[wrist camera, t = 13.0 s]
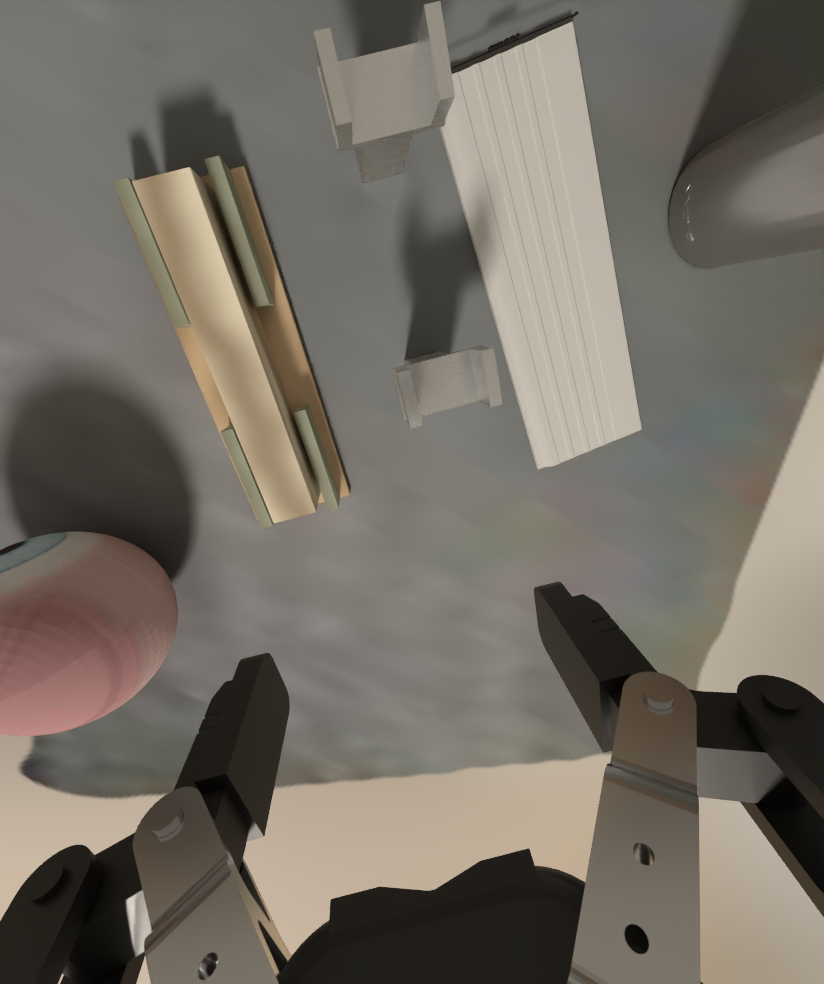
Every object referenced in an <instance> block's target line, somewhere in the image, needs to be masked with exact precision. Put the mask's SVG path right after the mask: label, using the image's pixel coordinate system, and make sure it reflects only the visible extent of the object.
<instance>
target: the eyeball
mask: <svg viewBox="0 0 824 984" xmlns="http://www.w3.org/2000/svg"><path fill="white" fill-rule="evenodd" d="M177 618H178V607H177V600H176V595H175V591H174V588H173V586H172V583H171V581H170V579H169V577H168V575H167V574H166V572H165V571H164V569H163V568H162V567H161V566H160V564H159V563H158V562H157V561H156V560H155V559H154V558H153V557H152V556H150V555H149V554H148V553H147V552H145V551H144V550H142V549H141V548H139V547H137V546H136V545H134V544H132V543H130V542H127V541H125V540H122V539H120V538H117V537H114V536H110V535H106V534H100V533H92V532H59V533H53V534H47V535H42V536H37V537H33V538H30V539H26V540H24V541H21V542H18V543H15V544H13V545H10V546H8V547H6V548H4V549H2V550H0V734H5V735H15V736H35V735H46V734H52V733H57V732H62V731H66V730H70V729H73V728H76V727H79V726H82V725H85V724H87V723H90V722H92V721H94V720H96V719H98V718H100V717H103V716H104V715H106V714H108V713H110V712H111V711H113V710H115V709H116V708H118V707H119V706H121V705H122V704H124V703H125V702H126V701H128V700H129V699H130V698H132V697H133V696H134V695H135V694H136V693H137V692H138V691H139V690H141V689H142V688H143V687H144V686H145V685H146V683H147V682H148V681H149V680H150V679H151V678H152V677H153V676H154V674H155V673H156V671H157V670H158V669H159V667H160V666H161V664H162V663H163V661H164V659H165V657H166V656H167V654H168V652H169V650H170V647H171V644H172V642H173V639H174V635H175V631H176V627H177Z"/></svg>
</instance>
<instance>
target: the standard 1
mask: <svg viewBox="0 0 824 984" xmlns="http://www.w3.org/2000/svg"><path fill="white" fill-rule="evenodd" d="M313 32H314V39H315V46H316V52H317V59H318V67H317V72H318V76H319V80H320V84H321V88H322V92H323V96H324V100H325V104H326V108H327V112H328V116H329V120H330V124H331V128H332V132H333V136H334V141H335V145H336V149H337V153H339V152H343V151H347V150H351V149H355V151H356V155H357V160H358V164H359V168H360V172H361V177H362V181H363V183H365V182H369V181H373V180H377V179H381V178H385V177H389V176H393V175H397V174H401V173H402V171H403V167H404V164H405V160H406V156H407V153H408V149H409V146H410V142H411V138H412V135H413V134H415V133H419V132H423V131H428V130H432V129H436V128H440V127H444V125H445V123H446V117H447V114H448V112H449V110H450V107H451V105H452V102H453V100H454V98H455V93H454V86H453V80H452V73H451V67H450V60H449V54H448V47H447V41H446V34H445V28H444V21H443V15H442V8H441V2H440V1H437V2H433V3H429V4H425V5H424V8H423V12H422V17H421V22H420V27H419V32H418V37H417V42H416V43H413V44H409V45H405V46H401V47H397V48H393V49H389V50H384V51H380V52H376V53H372V54H368V55H364V56H360V57H356V58H351V59H347V60H343V61H339V62H338V60H337V56H336V52H335V47H334V43H333V39H332V34H331V30H330V27H329V28H325V29H321V30H317V31H313Z"/></svg>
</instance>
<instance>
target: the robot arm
mask: <svg viewBox="0 0 824 984" xmlns="http://www.w3.org/2000/svg"><path fill="white" fill-rule="evenodd" d="M669 230H670V235H671V238H672V241H673V244H674V246H675V248H676V250H677V251H678V253H679V254H680V255H681V256H682V257H683V258H684V259H685V260H686V261H687V262H689V263H691V264H693V265H694V266H698V267H702V268H714V267H720V266H725V265H731V264H737V263H742V262H748V261H755V260H760V259H766V258H771V257H777V256H783V255H788V254H794V253H799V252H805V251H811V250H816V249H822V248H824V83H823V84H821V85H819V86H818V87H816V88H814V89H812V90H810V91H808V92H806V93H804V94H803V95H801V96H799V97H797V98H795V99H793V100H791V101H789V102H787V103H786V104H784V105H782V106H780V107H778V108H776V109H774V110H772V111H771V112H769V113H767V114H765V115H763V116H761V117H759V118H757V119H755V120H753V121H751V122H750V123H748V124H746V125H744V126H742V127H740V128H738V129H737V130H735V131H733V132H731V133H729V134H727V135H725V136H723V137H722V138H720V139H718V140H716V141H714V142H712V143H710V144H709V145H707V146H706V147H704V148H703V149H702V150H701V151H699V152H698V153H697V154H696V155H695V156H694V157H693V158H692V160H691V161H690V162H689V163H688V164H687V166H686V167H685V169H684V170H683V172H682V174H681V175H680V177H679V179H678V181H677V184H676V186H675V188H674V191H673V194H672V198H671V202H670V208H669ZM534 596H535V604H536V612H537V620H538V628H539V633H540V636H541V639H542V642H543V645H544V647H545V649H546V651H547V653H548V654H549V656H550V658H551V660H552V662H553V663H554V665H555V667H556V669H557V671H558V672H559V674H560V676H561V678H562V679H563V681H564V683H565V685H566V687H567V688H568V690H569V692H570V694H571V696H572V697H573V699H574V701H575V703H576V705H577V706H578V708H579V710H580V712H581V713H582V715H583V717H584V719H585V721H586V722H587V724H588V726H589V728H590V730H591V731H592V733H593V735H594V737H595V738H596V740H597V742H598V744H599V746H600V747H601V749H602V751H603V753H604V752H608V751H612V757H611V761H610V764H607V766H606V769H605V773H604V778H603V784H602V790H601V795H600V801H599V807H598V813H597V819H596V824H595V830H594V836H593V842H592V848H591V854H590V859H589V866H588V872H587V877H586V883H585V882H584V881H582V880H579V879H578V878H576V877H574V876H572V875H570V874H568V873H565V872H562V871H560V870H556V869H552V868H548V867H541V866H534V863H533V859H532V856H531V853H530V850H529V849H526V850H521V851H517V852H514V853H510V854H506V855H502V856H498V857H494V858H490V859H486V860H482V861H480V862H478V863H477V864H475V865H473V866H472V867H471V868H469V869H467V870H465V871H464V872H462V873H461V874H459V875H458V876H456V877H454V878H453V879H451V880H450V881H448V882H447V883H445V884H443V885H442V886H440V887H438V888H437V889H435V890H431V891H423V890H411V889H399V888H388V887H377V888H373V889H369V890H365V891H361V892H358V893H354V894H350V895H346V896H342V897H339V898H334V899H331V904H330V920H329V921H328V922H326V923H325V924H323V925H322V926H321V927H319V928H318V929H317V930H316V931H315V932H313V933H312V934H311V935H310V936H309V937H308V938H307V939H306V940H305V941H304V943H302V944H301V945H300V947H299V948H298V949H297V950H296V952H295V953H294V954H293V955H292V956H291V954H290V952H289V950H288V948H287V947H286V945H285V943H284V941H283V940H282V938H281V936H280V934H279V932H278V930H277V928H276V926H275V924H274V922H273V920H272V918H271V915H270V913H269V911H268V909H267V907H266V905H265V903H264V901H263V899H262V897H261V894H260V892H259V890H258V888H257V886H256V884H255V882H254V879H253V877H252V875H251V873H250V871H249V869H248V867H247V865H246V863H245V861H244V860H243V854H244V851H245V846H246V842H247V841H250V840H254V839H257V838H261V837H264V835H265V829H266V825H267V820H268V815H269V810H270V805H271V799H272V795H273V790H274V785H275V780H276V775H277V770H278V765H279V760H280V755H281V750H282V745H283V740H284V735H285V730H286V725H287V720H288V715H289V696H288V692H287V689H286V686H285V684H284V682H283V680H282V678H281V676H280V673H279V671H278V669H277V667H276V665H275V662H274V660H273V658H272V656H271V655H270V654H269V653H264V654H260V655H256V656H252V657H248V658H244V659H242V660H241V661H240V662H239V664H238V667H237V669H236V672H235V675H234V677H233V680H231V681H227V682H225V683H224V684H223V685H222V687H221V688H220V689H219V690H218V692H217V693H216V694H215V695H214V697H213V698H212V700H211V702H210V704H209V707H208V709H207V712H206V714H205V719H203V721H202V724H201V726H200V728H199V734H197V736H196V738H195V740H194V743H193V745H192V748H191V750H190V752H189V755H188V757H187V760H186V762H185V764H184V767H183V769H182V772H181V774H180V776H179V779H178V781H177V784H176V786H175V788H174V790H173V791H172V792H170V793H168V794H167V795H165V796H164V797H162V798H161V799H160V800H159V801H158V802H156V803H155V804H154V805H153V807H151V808H150V810H149V811H148V812H147V813H146V814H145V816H144V817H143V819H142V820H141V822H140V824H139V825H138V827H137V830H136V832H135V833H133V834H132V835H130V836H128V837H126V838H125V839H123V840H121V841H119V842H118V843H116V844H114V845H112V846H111V847H109V848H107V849H105V850H103V851H102V852H100V853H98V854H96V855H94V854H93V853H92V852H91V851H90V850H89V849H88V848H87V847H86V846H84V845H74V846H70V847H68V848H65V849H63V850H61V851H59V852H58V853H56V854H55V855H53V856H52V857H50V858H49V859H48V860H46V861H45V862H44V863H43V864H42V865H40V866H39V867H38V868H37V869H36V870H35V871H34V872H33V873H32V874H31V875H30V877H29V878H28V879H27V880H26V881H25V883H24V884H23V885H22V886H21V888H20V889H19V891H18V892H17V894H16V895H15V897H14V899H13V900H12V902H11V904H10V906H9V907H8V909H7V911H6V912H5V914H4V916H3V918H2V920H1V921H0V984H58V981H59V979H60V977H61V975H62V974H64V976H63V979H62V981H61V983H60V984H136V982H137V979H138V975H139V972H140V969H141V966H142V963H143V960H144V957H146V962H147V966H148V971H149V976H150V981H151V984H703V983H702V982H701V981H700V895H699V894H700V892H699V886H700V884H699V802H698V797H705V798H713V799H722V800H731V801H740V802H741V803H742V805H743V806H744V807H745V809H746V810H747V812H748V813H749V815H750V816H751V817H752V819H753V820H754V822H755V823H756V824H757V826H758V827H759V828H760V830H761V831H762V833H763V834H764V835H765V837H766V838H767V839H768V841H769V842H770V844H771V845H772V846H773V848H774V849H775V850H776V852H777V853H778V855H779V856H780V857H781V859H782V860H783V861H784V863H785V864H786V866H787V867H788V868H789V870H790V871H791V872H792V874H793V875H794V877H795V878H796V880H797V881H798V882H799V883H800V885H801V886H802V888H803V889H804V890H805V892H806V893H807V895H808V896H809V897H810V899H811V900H812V902H813V903H814V904H815V906H816V907H817V909H818V910H819V911H820V913H821V914H822V915H823V916H824V703H823V702H821V701H820V700H819V699H818V698H817V697H816V696H814V695H813V694H812V693H811V692H810V691H808V690H806V689H805V688H803V687H802V686H800V685H798V684H796V683H794V682H791V681H789V680H786V679H783V678H779V677H775V676H768V675H756V676H750V677H747V678H745V679H744V680H742V682H740V684H739V685H738V689H737V693H722V692H702V691H695V690H690V689H688V688H687V687H686V686H685V685H683V684H682V683H681V682H679V681H678V680H676V679H674V678H673V677H670V676H668V675H665V674H662V673H658V672H657V671H656V670H655V669H654V668H653V666H652V665H651V664H650V663H649V662H648V661H647V659H646V658H645V657H644V656H643V655H642V653H641V652H640V651H639V650H638V649H637V648H636V646H635V645H634V644H633V643H632V642H631V641H630V639H629V638H628V637H627V636H626V635H625V633H624V632H623V631H622V630H620V629H619V626H618V625H617V624H616V623H615V622H614V620H613V619H611V618H610V616H609V615H608V613H607V612H606V611H605V610H604V609H603V607H602V606H601V605H600V604H599V603H597V602H596V601H594V600H592V599H590V598H589V597H587V596H585V595H583V594H582V595H578V596H574V597H572V596H571V595H570V593H569V592H568V591H567V589H566V588H565V587H564V586H563V584H562V583H561V582H555V583H551V584H547V585H543V586H539V587H535V588H534Z"/></svg>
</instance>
